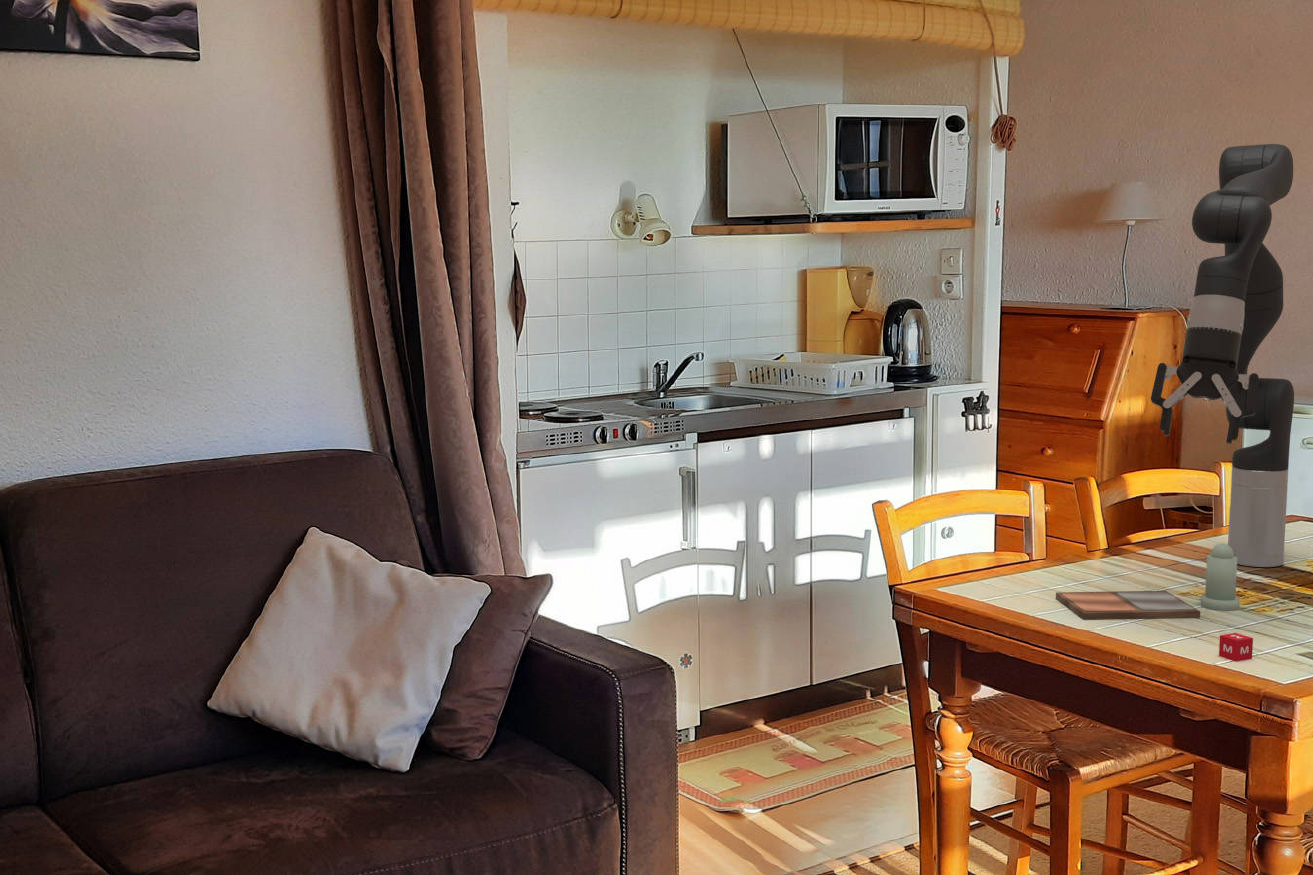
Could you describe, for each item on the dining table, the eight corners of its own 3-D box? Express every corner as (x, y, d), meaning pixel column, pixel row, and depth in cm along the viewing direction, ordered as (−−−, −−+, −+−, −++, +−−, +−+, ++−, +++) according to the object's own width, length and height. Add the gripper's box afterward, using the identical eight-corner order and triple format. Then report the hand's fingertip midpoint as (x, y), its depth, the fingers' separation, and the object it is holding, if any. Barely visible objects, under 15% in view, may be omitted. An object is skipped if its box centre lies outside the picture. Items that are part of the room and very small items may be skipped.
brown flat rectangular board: (1055, 598, 220) (1056, 591, 219) (1165, 596, 220) (1165, 590, 220) (1083, 619, 207) (1083, 612, 207) (1200, 617, 207) (1200, 610, 207)
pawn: (1194, 602, 217) (1197, 540, 215) (1229, 601, 217) (1232, 539, 215) (1210, 611, 211) (1212, 547, 210) (1245, 610, 211) (1248, 547, 210)
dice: (1218, 656, 188) (1219, 635, 187) (1234, 653, 189) (1235, 632, 188) (1236, 662, 185) (1237, 640, 184) (1252, 659, 186) (1253, 637, 186)
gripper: (1266, 340, 199) (1249, 449, 198) (1163, 329, 204) (1146, 435, 204) (1268, 331, 192) (1250, 444, 191) (1162, 320, 197) (1144, 429, 197)
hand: (1197, 439), depth 198 cm, fingers open, 8 cm apart
